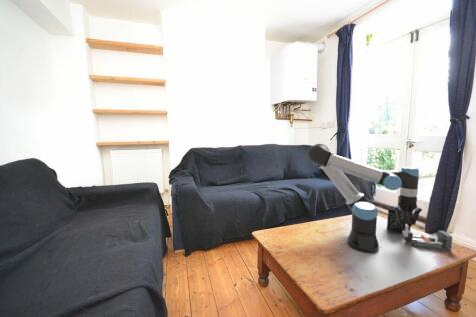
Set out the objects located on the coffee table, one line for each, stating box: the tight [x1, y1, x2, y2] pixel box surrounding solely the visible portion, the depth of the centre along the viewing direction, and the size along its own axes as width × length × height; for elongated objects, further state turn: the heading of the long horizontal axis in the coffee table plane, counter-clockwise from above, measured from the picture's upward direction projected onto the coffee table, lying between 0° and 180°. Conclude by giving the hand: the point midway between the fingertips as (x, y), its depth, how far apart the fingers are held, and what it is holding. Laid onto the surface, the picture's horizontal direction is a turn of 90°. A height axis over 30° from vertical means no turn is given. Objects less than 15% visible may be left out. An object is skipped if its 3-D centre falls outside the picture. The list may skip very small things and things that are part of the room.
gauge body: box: [410, 229, 453, 252], centre depth 116 cm, size 16×7×8 cm, turn 75°
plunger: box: [404, 230, 424, 244], centre depth 118 cm, size 8×4×6 cm, turn 75°
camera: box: [386, 205, 407, 235], centre depth 133 cm, size 10×10×15 cm
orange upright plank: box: [420, 234, 430, 242], centre depth 117 cm, size 2×7×4 cm, turn 165°
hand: (405, 235), depth 119 cm, fingers closed
